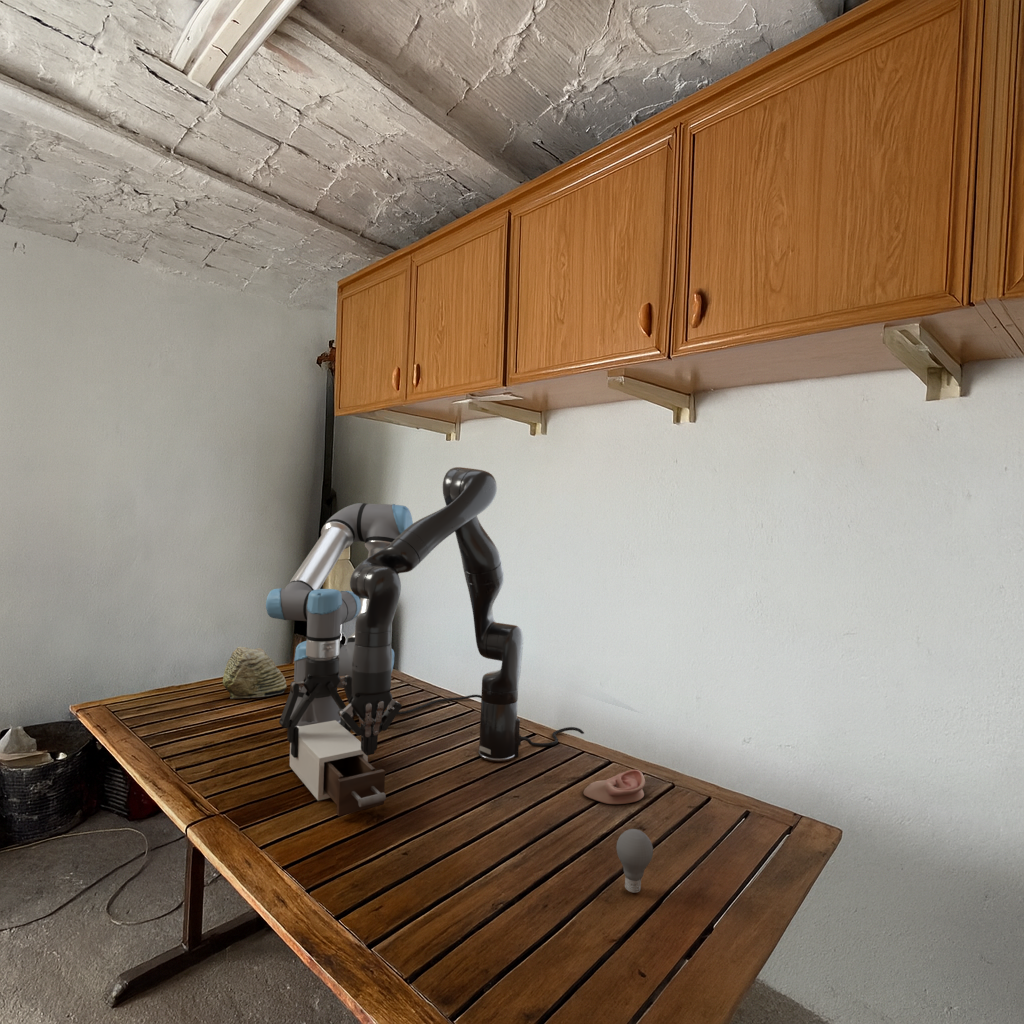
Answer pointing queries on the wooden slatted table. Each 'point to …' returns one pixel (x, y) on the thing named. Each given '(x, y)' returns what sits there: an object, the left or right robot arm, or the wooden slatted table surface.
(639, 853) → the light bulb
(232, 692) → the fossil
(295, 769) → the cabinet
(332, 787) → the drawer
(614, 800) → the anatomical model
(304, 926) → the wooden slatted table surface
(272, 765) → the wooden slatted table surface
